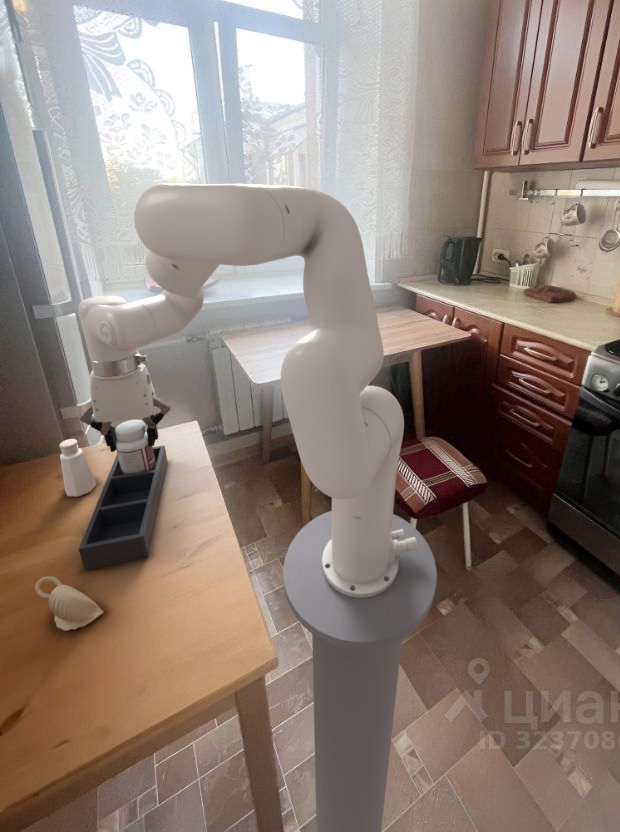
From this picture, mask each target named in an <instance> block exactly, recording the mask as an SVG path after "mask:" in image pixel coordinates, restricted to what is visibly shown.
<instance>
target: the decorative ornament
mask: <svg viewBox="0 0 620 832" xmlns="http://www.w3.org/2000/svg"><path fill="white" fill-rule="evenodd" d="M47 581H49V582H52V583H54V584H55V585H56V587H55V588H54V589H53V590H52V591H51V593H46V592H44V591H43V590H42V589H41V585H42V583H43V582H47ZM35 592H36V594H37V595H38V596H39V597H41V598H43V599H48V606H49V610H50V611H51V612H52V614H53V616H54V618H53V620H54V622H55V624H56V627H57V628H58V629H61V630H62V631H65V632H69V631H71V630H74V631H76V630H77V629H79V628H83V627H86V626H87V625H89V624H91V623H92V622H93V621H95V620H97V619H98V618H99V617H100V616H101V615H102V614H104V611H103V610H102V609H101V607H99V605H98V604H97V603H96V602H95V601H94V600H93V599H92V598H90V597H89V596H88V595H86V594H85V593H83V592H81V591H80V590H78V589H76V588H74V587H72V586H70V585H67V584H63V583H62V581H60V579H58V578H57V577H55V576H49V575H48V576H44V577H41V578H40V579H38V581H37V582H36V583H35Z"/></svg>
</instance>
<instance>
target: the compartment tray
mask: <svg viewBox="0 0 620 832" xmlns="http://www.w3.org/2000/svg"><path fill="white" fill-rule="evenodd" d="M152 448H153V453H154V457H155V462H156V468H155V470H151V471H144V472H138V473H132V474H125V475H123V473H122V470H121V466H120V462H119V458H118V454H117V453H116V456H115V459H114V461H113V463H112V466H111V467H110V471H109V473H108V475H107V478H106V480H105V483H104V485H103V487H102V489H101V493H100V495H99V497H98V500H97V503H96V504H95V508H94V510H93V512H92V515H91V518H90V519H89V522H88V525H87V527H86V529H85V532H84V535H83V537H82V539H81V542H80V544H79V547H78V549H77V550H78V553H79V556H80V559H81V562H82V565H83V568H84V571H89V570H94V569H100V568H104V567H108V566H112V565H117V564H122V563H127V562H132V561H136V560H140V559H146V558H149V555H150V551H151V546H152V540H153V536H154V532H155V527H156V521H157V516H158V511H159V507H160V502H161V498H162V493H163V487H164V484H165V478H166V473H167V468H168V463H169V461H168V457H167V451H166V446H165V445H158V446H152Z"/></svg>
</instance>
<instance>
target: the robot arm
mask: <svg viewBox="0 0 620 832" xmlns="http://www.w3.org/2000/svg"><path fill="white" fill-rule="evenodd" d="M133 213H134V214H133V216H134V217H133V218H134V219H133V222H134V228H135V231H136V234H137V236H138V238H139V240H140V242H141V243H142V244H143V245H144V246H145V248H147V249H148V250H149V252H148V253H147V255H146V258H145V268H146V271H147V274H148V275H149V276H150V278H151V279H152V281H153V282H154V283H155V284H156V285H158V287H160V288H161V289H163V290H162V291H161V292H160V293H159V294H158V295H154V296H149V297H144V298H141V299H137V300H133V301H130V302H127V300H126V299H125V298H123V297H121V296H118V295H98V296H92V297H88V298H85V299H83V300H82V301H81V302H79V304H78V307H77V312H78V316H79V319H80V324H81V327H82V332H83V336H84V341H85V344H86V349H87V353H88V357H89V361H90V364H91V369H92V370H91V371H90V373H89V391H90V402H91V404H90V406H89V407H88V408H87V409H85V411H84V412H83V413H82V414H81V416H80V417H79V420H80V421H81V422H82V423H84V424H85V425H87V426H90V427H91V428H93V429H94V430H96V431H98V432H100V435H102V436H104V439H105V445H106V447H109V450H110V452H111V453H113V452H115V451H116V452H117V450H116V441H117V438H116V433H115V429H116V427H115V425H114V426H113V423H114V422H115V423H116V422H122V421H124V422H125V421H130V420H142V421H143V422H144V424H145V425H146V426H147V428H146V432H147V436H148V440H149V445H150V446H152V447H155V444H156V441H157V440H158V439H159V432H158V426H157V425H158V424H159V423H160V422H161V421H162V420H163V418H164V417H165V416H166V415H167V414H168V413H169V412H170V411H171V408H172V405H171V403H169V402H166V401H165V400H163V399H162V398H160V397H158V396H157V395H156V391H155V388H154V384H153V382H152V379H151V375H150V373H149V370H148V368H147V367H146V364H145V363H148V361H149V359H148V355H147V354H141V353H140V351H139V350H138V349H139V348H142V347H144V346H147V345H149V344H152V343H154V342H157V341H160V340H163V339H165V338H169V337H171V336H174V335H176V334H178V333H180V332H181V331H183V330H184V329H185V328H186V327H187V326H188V325H189V324H190V323H191V322H192V321H193V319H194V318H195V317H196V316H197V315H198V314H199V312H200V311H201V310H202V308H203V305H204V301H205V300H204V299H205V289H204V285H205V284H206V283H207V281H208V280H209V279H210V278H211V277H212V275H213V273H214V272H216V270H217V269H218V267H219V266H220V265H221V266H234V267H238V266H239V267H249V266H257V265H262V264H263V265H264V264H265V263H266V264H267V263H270V262H275V261H279V260H283V259H287V258H291V257H294V256H297V257H298V256H299V257H301V258H302V259H303V261H304V266H303V267H304V268H303V273H302V274H303V275H302V290H303V298H304V301H305V304H306V308H307V312H308V318H309V323H310V333H308V334H306V335H305V336H302V338H300V339H299V340H297V341H296V342H295V343H294V344H293V345H292V346H290V348H289V349H288V351H287V352H286V354H285V356H284V358H283V360H282V364H281V369H280V388H281V393H282V398H283V402H284V405H285V410H286V413H287V416H288V420H289V423H290V427H291V431H292V434H293V438H294V441H295V445H296V447H297V452H298V456H299V458H300V462H301V464H302V467H303V470H304V472H305V473H306V475H307V477H308V479H309V480H310V482H311V483H312V484H313V485H314V486H315V488H317V489H318V491H320V492H321V493H322V494H324V495H326V496H328V497H330V498H331V511H332V539H331V540H330V541H329V542H328V544H327V545H326V547H325V549H324V552H323V556H322V568H323V573H324V575H325V577H326V579H327V581H328V582H329V584H330V585H331V586H332V587H333V588H334V589H336V590H337V591H339V592H340V593H342V594H345V595H347V596H350V597H356V598H367V597H372V596H375V595H378V594H380V593H382V592H383V591H385V590H386V589H387V588H388V587H389V586H390V585H391V584H392V583H393V581H394V580H395V578H396V575H397V572H398V556H400V555H401V553H402V552H406V551H407V552H409V551H413V550H417V549H418V543H417V540H416V538H415V537H412V538H408V539H404V540H402V541H397V540H394V539H400V538H404V531H403V529H400V530H396V531H393V532H392V520H393V514H394V508H395V495H396V484H397V474H398V467H399V466H398V465H399V460H400V454H401V448H402V443H403V437H404V432H405V431H404V430H405V417H404V413H403V408H402V406H401V404H400V403H399V400H398V399H397V398H396V396H394V394H392V393H391V392H390V391H389V390H387V389H386V388H383V387H380V386H377V385H370V383H371V382H372V381H373V380H374V379H375V378H376V376H377V375H378V374H379V372H380V371H381V369H382V366H383V364H384V360H385V357H384V355H385V354H384V353H385V352H384V344H383V340H382V335H381V331H380V325H379V321H378V316H377V315H378V314H377V311H376V306H375V301H374V296H373V292H372V288H371V283H370V279H369V272H368V267H367V262H366V255H365V250H364V244H363V239H362V236H361V233H360V230H359V227H358V224H357V223H356V221H355V219H354V217H353V215H352V214H351V213H350V211H349V210H348V209H347V208H346V207H345V205H344V204H343V203H342V202H340V201H339V200H338V199H336V198H335V197H333V196H331V195H329V194H327V193H325V192H322V191H319V190H316V189H311V188H307V187H301V186H293V185H268V184H252V183H250V184H249V183H247V184H245V183H216V184H215V183H213V184H211V183H210V184H209V183H207V184H205V183H204V184H202V183H201V184H198V183H197V184H196V183H195V184H194V183H193V184H191V183H173V182H163V183H157V184H154V185H152V186H150V187H149V188H147V189H146V190H145V191H144V192H143V193H142V194H141V196H140V197H139V198H138V200H137V203H136V204H135V208H134V212H133ZM155 407H156V408H158V409H159V410H158V411H157V412H156V413H154V412H155V410H154V409H155Z"/></svg>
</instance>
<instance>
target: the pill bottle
mask: <svg viewBox="0 0 620 832" xmlns="http://www.w3.org/2000/svg"><path fill="white" fill-rule="evenodd" d="M115 433H116V438H117V441H116V455H117V454H118V458H119V462H120V466H121V470H122V473H123V475H125V474H132V473H138V472H144V471H151V470H155V468H156V462H155V457H154V453H153V448H152V447H153V446H150V445H149V440H148V436H147V428H146V423H145V422H144V421H143V420H142V419H132V420H125V421H124V422H121V423H119V424H118V425H117V426H115Z"/></svg>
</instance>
